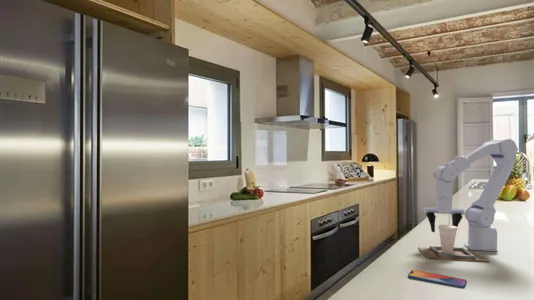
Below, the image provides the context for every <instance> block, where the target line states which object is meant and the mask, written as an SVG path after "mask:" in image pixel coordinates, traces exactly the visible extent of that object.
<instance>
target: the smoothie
mask: <svg viewBox="0 0 534 300" xmlns="http://www.w3.org/2000/svg"><path fill="white" fill-rule="evenodd" d="M437 227H438V228H437V229H438V231H439V241H440V247H441V250H442V253H445V254H453V249H454V247H455V242H456V235H457V231H458V227H456V226H452V224H451V214H448V224H438V226H437Z"/></svg>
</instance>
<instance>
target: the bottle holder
mask: <svg viewBox="0 0 534 300" xmlns="http://www.w3.org/2000/svg"><path fill="white" fill-rule="evenodd" d="M417 249H418V250H419V252H420V253H421V254H423V256H424V257H425V258H426V259H427V260H428V259H429V260H439V261H440V260H442V261H443V260H445V261H458V262H460V261H461V262H473V263H475V262H476V263H477V262H478V263H490V260H489V259H488V258H486V257H484V256H483V255H481V254H480V253H478V252H476V250H471V249H465V247H456V246H454V249H453V254H445V253H442V250H441V245H439V246H437V245H429V247H421V246H419V247H417Z"/></svg>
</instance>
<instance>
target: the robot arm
mask: <svg viewBox="0 0 534 300" xmlns="http://www.w3.org/2000/svg"><path fill="white" fill-rule="evenodd" d="M518 151H519V147H518V146H517V144H516V142H515V141H514V140H513V139H512V138H505V139H490V140H488V141H486V142H484V143H483V144H482V145H481V146H479V147H478V148H476V149H475V150H473V151H471V152H469V154H466V155H465V156H464V155H456V156H455V157H454V159H452V160H450V161H449V162H445V163H444V165H443V166H442V165H440V166H438V167H436V168H435V170H434V172H433V177H434V179H435V183H436V185H435V188H436V189H435V191H436V193H435V194H436V195H435V207H423V213H424V214H425V215H426V218H427V219H428V222H429V226H430V230H431V232H432V233H435V232H436V226H435V225H436V218H437V216H436V214H442V215H444V214H445V215H449V214H450V215H451V223H452V224H451V225H452V226H456V227H457V228H459V224H460V222H461V221H462V219H463V216H464V218H465V220H466V221H467V224H468V233H467V235H468V236H467V238H468V239H467V243H464V244H463V245H464V246H465V247H466V248H468V249H469V250H474V251H486V252H487V251H488V252H498V251H499V250H498V231H497V228H496V227H495V226H492V224H493V223H494V221H495V215H496V213H497V210H496V209H495V207H494V206H495V203H496V201H497V200H498V198H499V196H500V194H501V192H502V190H503V189H504V186H505V184H506V183H507V181H508V179H509V177H510V175H511V173H512V172H513V169H514V167H515V162H516V155H517V153H518ZM486 156H490V157H491V158H492V159H493V160H494V162H495V163H496V166H495V167H494V170H493V171H492V173H491V175H490V177H489V179H488V180H487V182H486V184H485V187H484V188H483V190H482V192H481V194H480V196H479V198H478V199H477V200H475V201H473V202H472V203H471V204H470V206H469V207H468V208H466V210H465V209H464V208H454V207H453V188H454V187H453V181H455V180H456V178H457V176H458V175H460V174H462V173H464V172H465V171H467V170H469V169H470V168H471V165H472V163H475V162H476V161H479V160H480V159H482V158H485V157H486Z"/></svg>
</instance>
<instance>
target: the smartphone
mask: <svg viewBox="0 0 534 300" xmlns="http://www.w3.org/2000/svg"><path fill="white" fill-rule="evenodd" d="M407 277H408V279H411V280H417V281H420V282H427V283H431V284H437V285H442V286H447V287H453V288H458V289H459V288H460V289H465V288H466V287H467V286H466V285H467V279H464V278H459V277H454V276H450V275H444V274H440V273H435V272H429V271H424V270H419V269H411V271H410V272H409V273H408V275H407Z"/></svg>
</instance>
